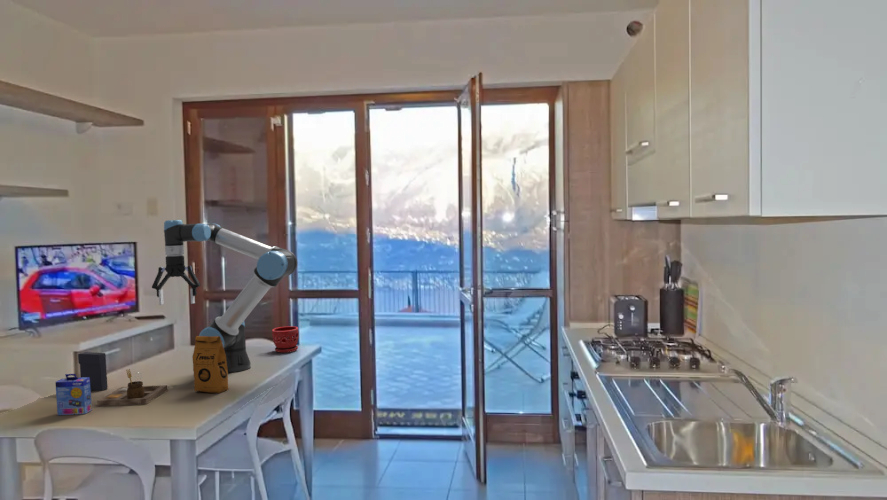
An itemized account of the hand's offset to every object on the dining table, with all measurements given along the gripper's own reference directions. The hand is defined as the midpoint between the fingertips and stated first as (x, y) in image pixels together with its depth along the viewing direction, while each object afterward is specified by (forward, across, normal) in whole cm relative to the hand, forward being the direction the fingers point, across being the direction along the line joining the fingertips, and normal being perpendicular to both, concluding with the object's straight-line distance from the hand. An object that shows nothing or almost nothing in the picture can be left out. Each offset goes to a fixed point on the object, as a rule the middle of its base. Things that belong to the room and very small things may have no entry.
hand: (177, 304), depth 286 cm
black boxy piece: (+32, -28, -19) cm, 47 cm away
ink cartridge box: (+32, -18, -53) cm, 64 cm away
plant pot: (+32, +36, +47) cm, 67 cm away
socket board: (+32, -5, -35) cm, 47 cm away
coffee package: (+32, +23, -29) cm, 49 cm away
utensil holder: (+32, -2, -40) cm, 51 cm away
